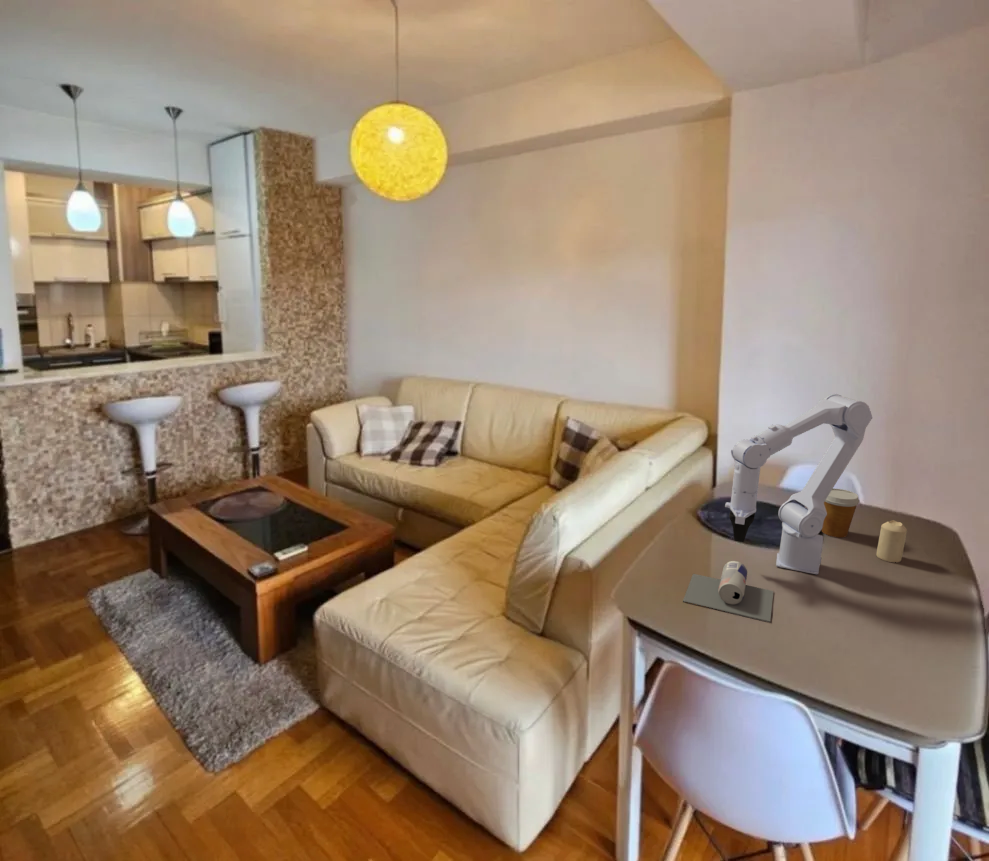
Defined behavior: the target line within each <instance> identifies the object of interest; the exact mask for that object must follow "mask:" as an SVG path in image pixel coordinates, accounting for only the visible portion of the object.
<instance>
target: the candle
mask: <svg viewBox="0 0 989 861" xmlns="http://www.w3.org/2000/svg"><path fill="white" fill-rule="evenodd" d="M907 533H908V530H907V528H906V527H905V525H904V524H903V523H902V522H900V521H896V520H894V519H893V520H890V521H889V520H888V521H886V522H884V523H882V524H881V526H880V533H879V537H878V543H877V548H876V557H877V558H878V559H880V560H882V561H884V562H889V563H895V562H896V563H900V562H901V561H902V560H903V554H904V550H905V543H906V537H907Z"/></svg>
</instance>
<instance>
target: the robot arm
mask: <svg viewBox="0 0 989 861" xmlns="http://www.w3.org/2000/svg"><path fill="white" fill-rule="evenodd" d="M872 419H873V415H872V411H871V408H870V406H869V405H868V404H867V402H864V401H862V400H856V399H852V398H848V397H846V396H842V395H840V394H837V393H836V394H835V393H833V394H829V395H828V396H826V397H825V398H822V399H819V401H818V402H817V403H816V405H815V406H814V407H812V408H811V409H808V410H807V411H805V412H804V413H802V414H800V415H799V416H798V417H796V418H794V419H793V420H791V421H789V422H788V423H787V424H785V425H782V424H775V425H774V424H770V425H769V426H767V427H768V429H765V430H764V431H762V432H761V433H758V434H757V435H752V436H750V439H741V440H739V441H738V442H737V443H735V445H734V447H733V448H732V449H731V450H730V455H731V458H732V459H733V460H734V463H733V464H734V468H733V479H732V488H731V498H730V502H725V505H724V507H725V508H728V509H729V510H730V511H729V515H728V516H729V517H728V518H729V519H730V520H729V521H730V523H731V526H732V530H733V531H732V532H733V538H734V539H733V540H734V541H735V542H738V543H744V542H745V539H746V537H747V533H748V530H749V528H750V527H751V524H752V523H753V522H754V521H755V516H756V512H757V499H758V491H759V482H760V476H761V468H762V467H763V466H764V465H765V464H766V462H767V461H768V459H769V458H770V457H771V456H773V455H775V454H776V453H778V452H780V451H782V450H783V449H785V448H787V447H789V446H791V445H792V443H793V439H795V437H797V436H800V435H802V434H804V433H806V432H808V431H810V430H813V429H815V428H818V427H819V426H822V425H825V424H827V425H830V427H831V428H832V431H833V433H834V438H833V440H832V441H831V443H830V445H829V447H828V448H827V449H826V451H825V453H824V454H823V456H822V458H821V459H820V461H819V463H818V464H817V466H816V467H815V469H814V471H813V472H812V474H811V476H809V478H808V480H807V481H806V484H805V485H804V487H803V489H802V490H801V491H799V492H796V493H793V494H791V496H790V497H789V498H788V500H786V501H785V502H783V503H782V504H781V505H780V507H779V508H778V512H777V513H778V515H777V516H778V518H779V520H780V521H781V522H782V523H781V527H782V529H781V538H780V544H779V551H778V552H777V553H776V562H775V566H776V567H777V568H781V569H787V570H790V571H791V570H792V571H797V572H802V573H807V574H811V575H812V574H813V575H820V574H819V572H820V565H821V563H822V551H823V542H824V535H822V534H819V533H820V532H822V527H823V522H824V519H825V517H826V515H827V512H826V509H825V506H824V502H825V500H826V498H827V497H828V495H829V494H830V492H831V490H832V489H833V488H834V487H835V485H836V484H837V482H838V481H839V480H840V479H841V478H840V477H841V476H842V474H843V473H844V471H845V470H846V468H847V466H849V463H850V462H851V460H852V459H853V457H854V455H855V454H856V452H857V451H858V449H859V447H860V446H861V445H862V443H863V441H864V439H865V433H866V429H867V427H868V426H869V425H870V422H871V421H872Z"/></svg>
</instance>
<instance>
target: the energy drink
mask: <svg viewBox="0 0 989 861" xmlns="http://www.w3.org/2000/svg"><path fill="white" fill-rule="evenodd" d="M747 578H748V569H747V567H746V566H745V565H744V564H743V563H742V562H740V561H738V560H730V561H728V562H726V563H725V564H724V566H723V569H722V573H721V576H720V580H721V581H720V585H719V589H718V592H719V596H720V598H721V599H722V600H723V601H724V602H725V603H728V604H738V603H739V602H740V601H741V600H742V599H743V598H744V593H745V586H746V585H747Z"/></svg>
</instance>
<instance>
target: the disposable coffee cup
mask: <svg viewBox="0 0 989 861" xmlns="http://www.w3.org/2000/svg"><path fill="white" fill-rule="evenodd" d="M859 503H860V499H859V495H858V494H857V493H855V492H853V491H850V490H848V489H847V490H846V489H843V488H842V489H841V488H834V487H833V489H832V490H831V492H830V494H829V495H828V497H827V498H826V500H825V502H824V506H825V509H826V512H827V515H826V517H825V519H824V522H823V527H822V530H821V532H822V533H823V534H824V535H826V536H828V537H833V538H846V537H848V534H849V530H850V527H851V524H852V521H853V518H854V516H855V512H856V509H857V506H858V505H859Z"/></svg>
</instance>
